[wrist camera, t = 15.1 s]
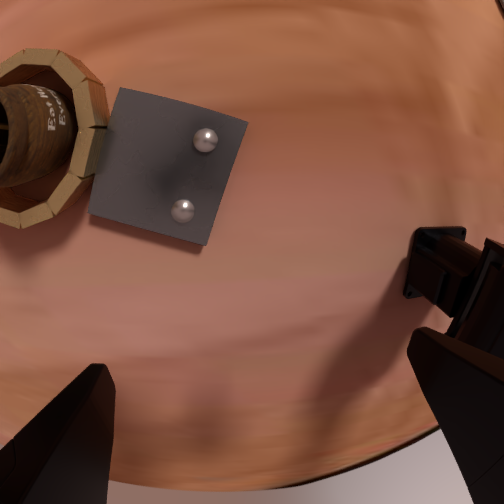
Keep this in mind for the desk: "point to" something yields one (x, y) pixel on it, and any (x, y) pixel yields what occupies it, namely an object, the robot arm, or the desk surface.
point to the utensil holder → (33, 132)
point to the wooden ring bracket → (132, 155)
